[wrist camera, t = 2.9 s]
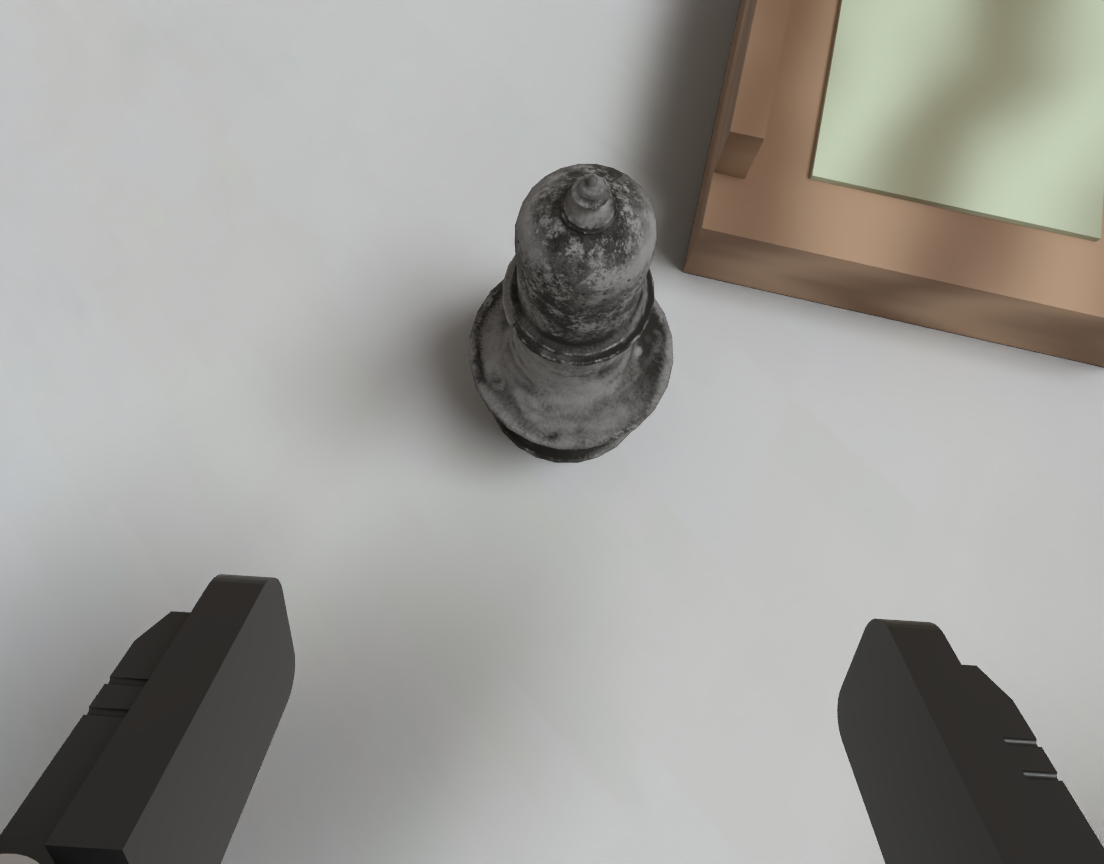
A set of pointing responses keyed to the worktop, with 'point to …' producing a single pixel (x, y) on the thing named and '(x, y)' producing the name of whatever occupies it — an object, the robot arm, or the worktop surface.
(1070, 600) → the worktop surface
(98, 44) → the worktop surface
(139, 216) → the worktop surface
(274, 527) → the worktop surface
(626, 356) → the salt shaker
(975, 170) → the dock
